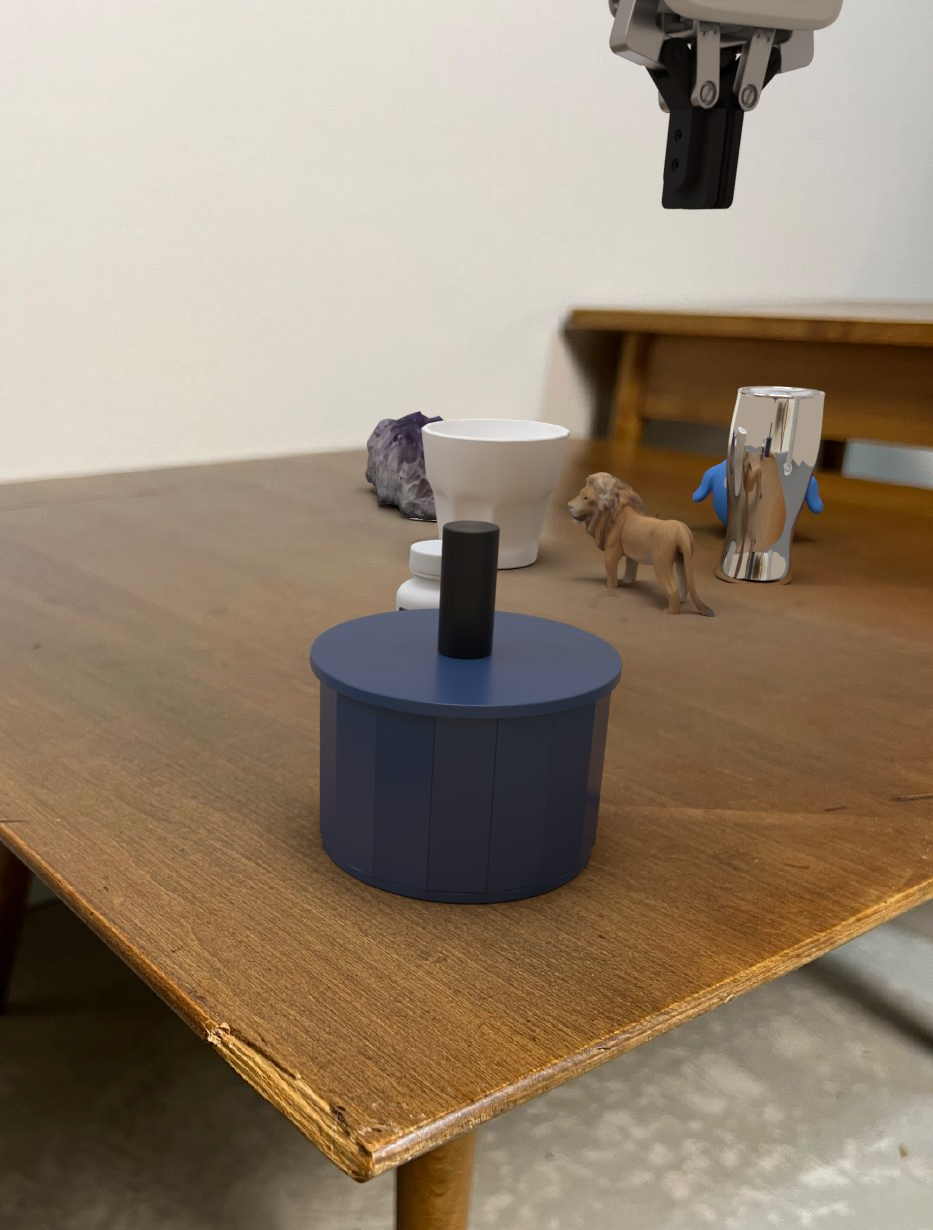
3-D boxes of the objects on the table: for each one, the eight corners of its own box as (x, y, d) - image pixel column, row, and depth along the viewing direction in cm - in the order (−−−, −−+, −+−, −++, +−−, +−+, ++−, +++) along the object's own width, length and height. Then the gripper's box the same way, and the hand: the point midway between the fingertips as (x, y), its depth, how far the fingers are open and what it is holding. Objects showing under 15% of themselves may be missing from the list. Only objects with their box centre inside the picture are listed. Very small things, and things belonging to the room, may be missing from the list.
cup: (448, 536, 114) (454, 414, 110) (577, 551, 110) (588, 424, 105) (394, 564, 104) (398, 432, 100) (533, 582, 99) (544, 443, 95)
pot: (578, 787, 62) (593, 627, 59) (606, 911, 51) (628, 721, 47) (333, 776, 63) (335, 618, 60) (307, 896, 52) (307, 709, 48)
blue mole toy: (672, 544, 113) (684, 451, 109) (697, 520, 122) (708, 434, 119) (808, 559, 108) (824, 462, 105) (822, 532, 118) (838, 443, 114)
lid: (601, 636, 60) (615, 498, 57) (640, 741, 47) (660, 571, 44) (325, 626, 60) (325, 490, 58) (292, 726, 48) (291, 559, 45)
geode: (504, 522, 121) (498, 419, 116) (390, 539, 120) (379, 436, 116) (464, 476, 139) (457, 386, 134) (364, 491, 138) (354, 401, 134)
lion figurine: (551, 583, 99) (561, 471, 96) (599, 575, 102) (610, 465, 98) (688, 628, 88) (705, 503, 84) (738, 617, 91) (756, 496, 87)
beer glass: (783, 592, 97) (815, 398, 91) (698, 579, 101) (724, 391, 95) (806, 575, 103) (837, 390, 97) (724, 563, 106) (750, 383, 100)
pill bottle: (493, 722, 71) (504, 557, 67) (403, 727, 70) (408, 559, 66) (470, 690, 75) (479, 534, 71) (385, 694, 75) (389, 537, 71)
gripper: (667, -362, 44) (615, 203, 51) (959, -286, 50) (874, 211, 57) (548, -289, 50) (517, 206, 57) (821, -229, 56) (760, 212, 63)
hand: (695, 207), depth 57 cm, fingers closed
